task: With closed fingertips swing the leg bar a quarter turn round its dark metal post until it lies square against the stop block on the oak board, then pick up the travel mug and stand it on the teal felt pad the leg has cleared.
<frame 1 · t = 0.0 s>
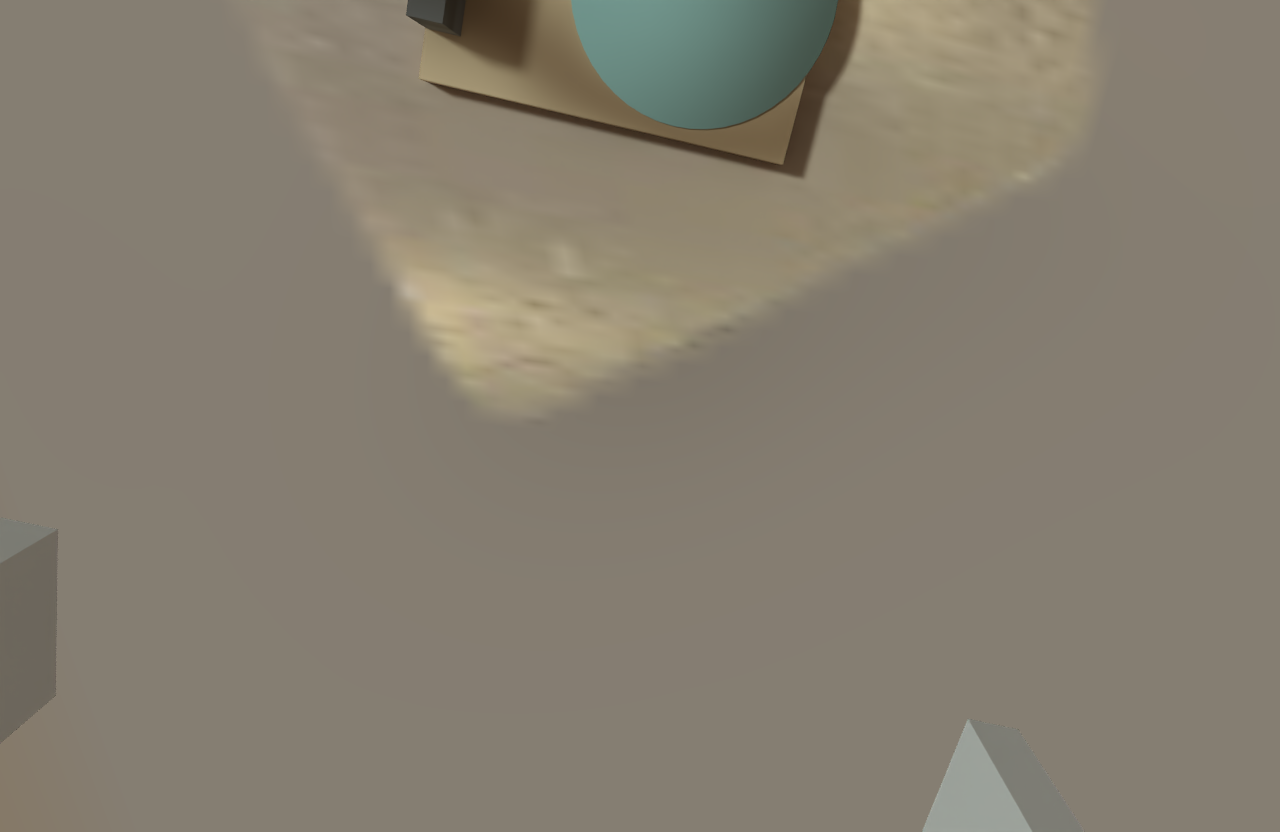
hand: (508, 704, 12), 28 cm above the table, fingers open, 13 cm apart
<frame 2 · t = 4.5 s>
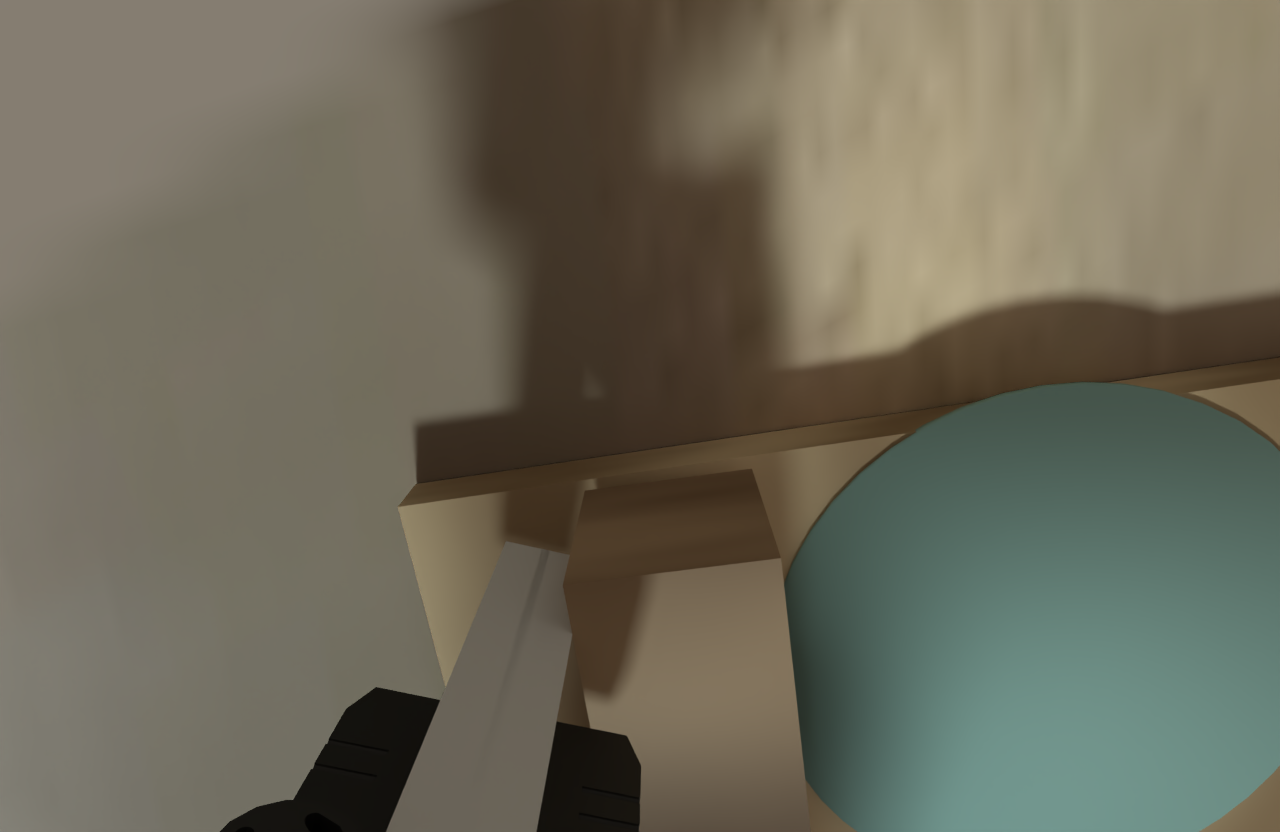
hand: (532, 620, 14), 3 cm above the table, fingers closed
felt pad: (1023, 622, 17), resting on oak board
leg bar: (710, 799, 14), point 4 cm above the table, hinge at 89.2°, touching gripper
oak board: (890, 757, 18), on the table
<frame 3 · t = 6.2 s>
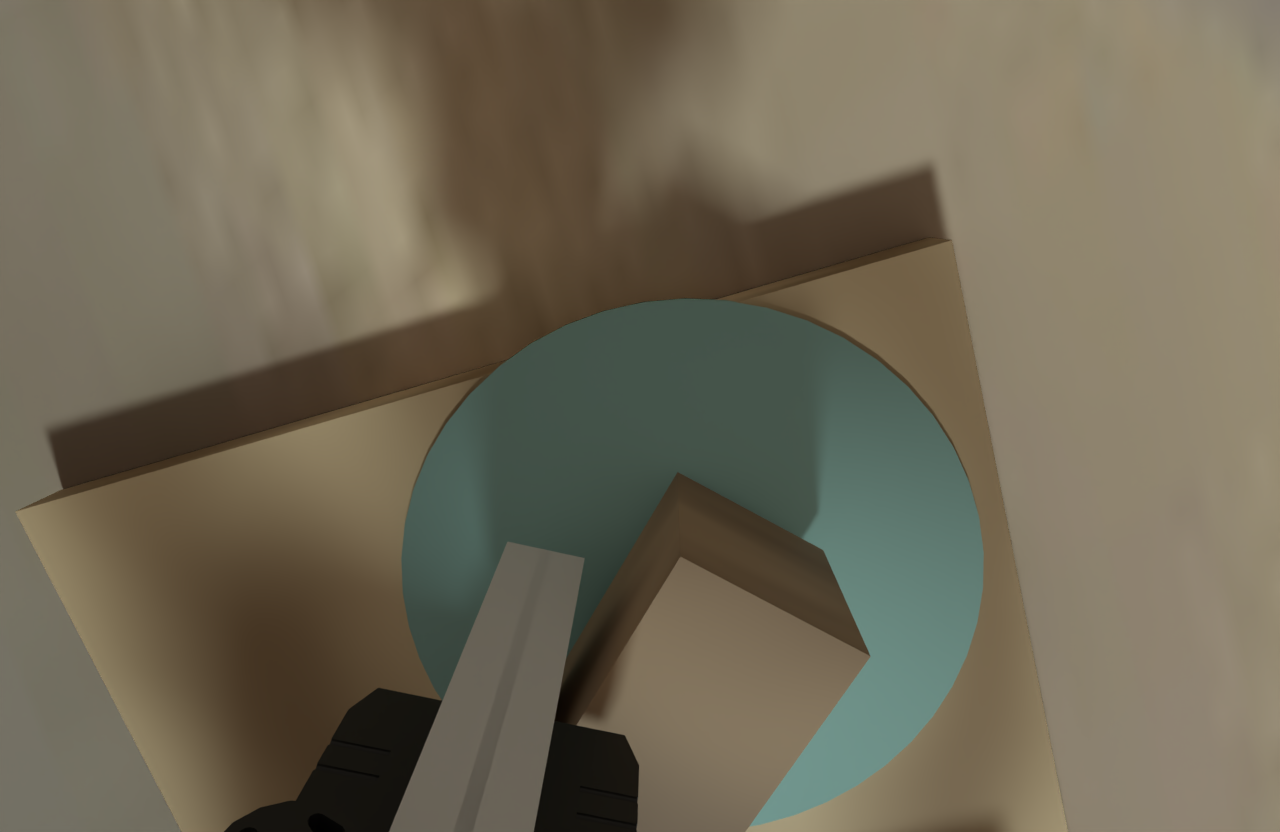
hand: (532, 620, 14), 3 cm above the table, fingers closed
felt pad: (687, 560, 17), resting on oak board
leg bar: (607, 803, 14), point 4 cm above the table, hinge at 44.6°, touching gripper
oak board: (591, 716, 18), on the table
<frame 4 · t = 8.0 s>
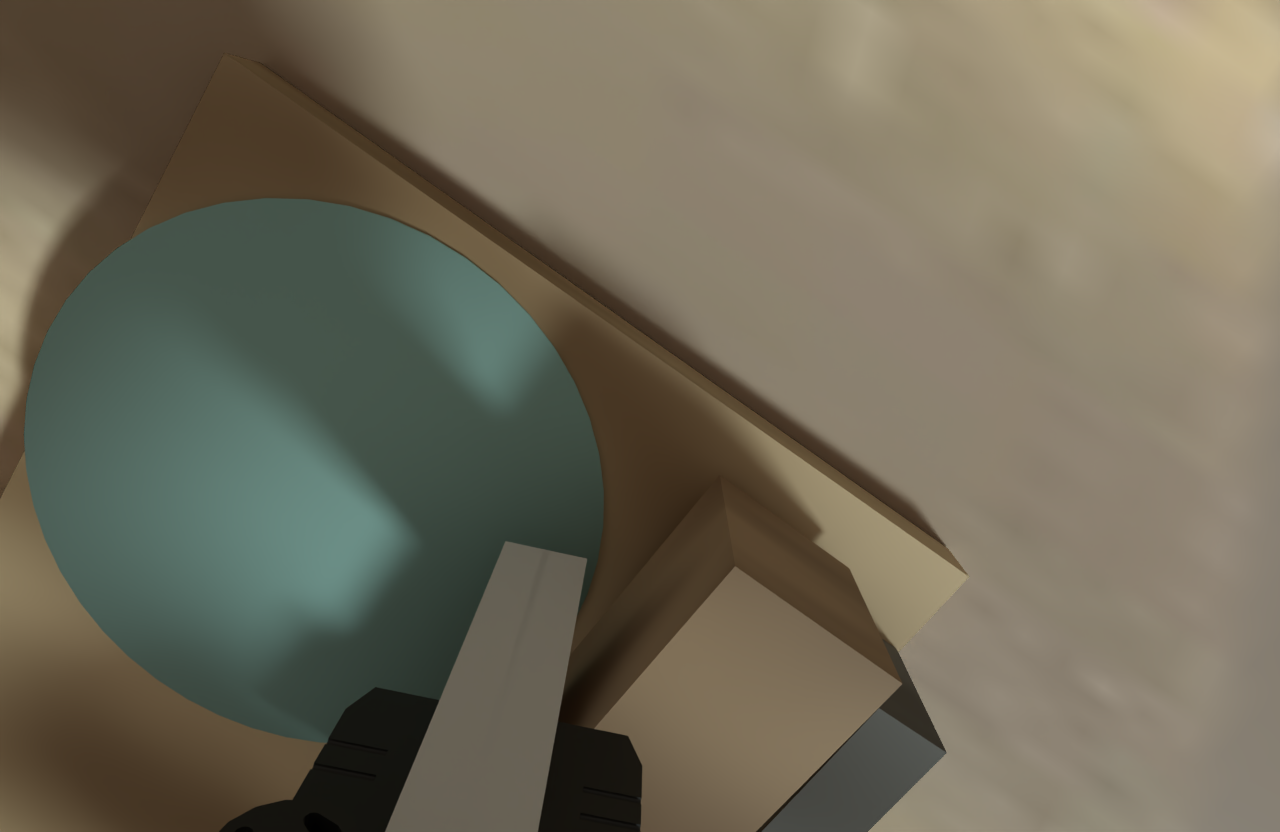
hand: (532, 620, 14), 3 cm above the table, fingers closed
felt pad: (340, 474, 16), resting on oak board
leg bar: (611, 789, 14), point 4 cm above the table, hinge at -1.3°, touching gripper
oak board: (393, 654, 18), on the table
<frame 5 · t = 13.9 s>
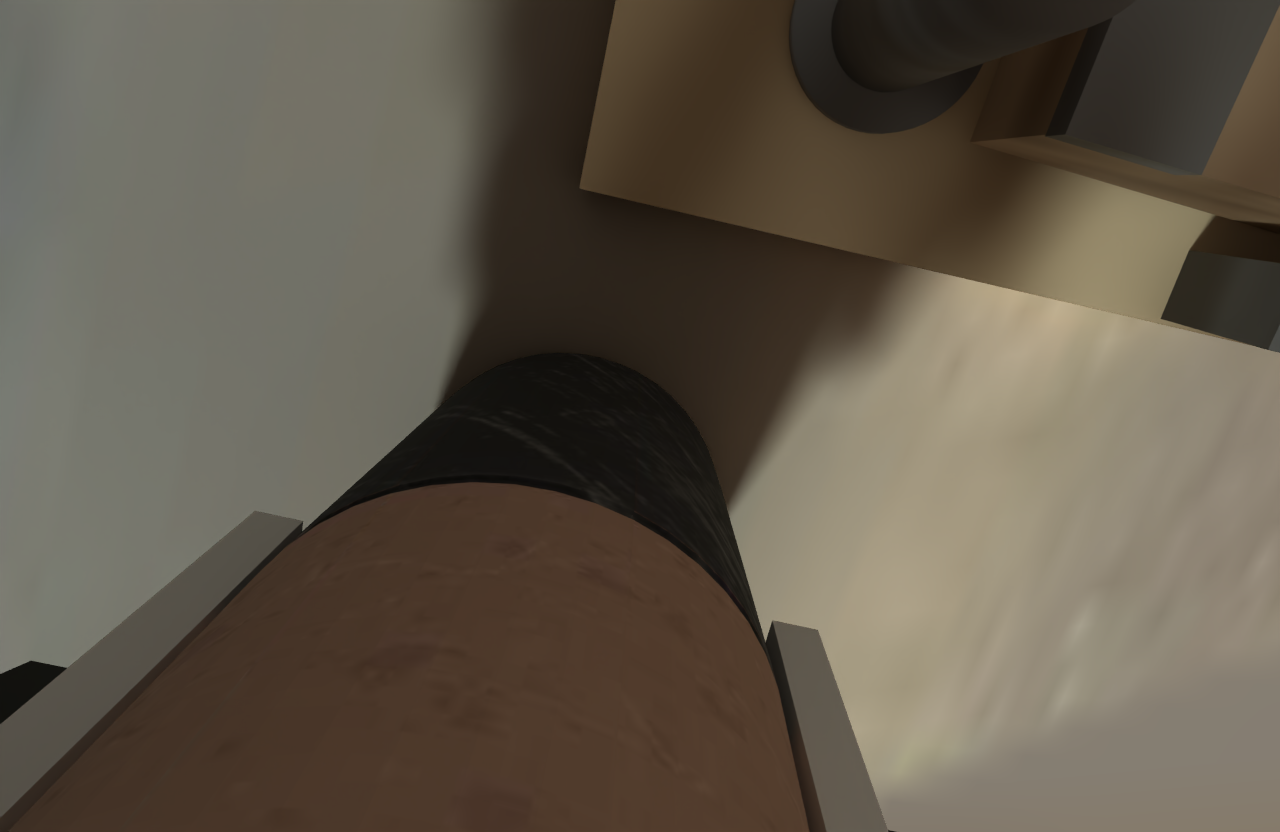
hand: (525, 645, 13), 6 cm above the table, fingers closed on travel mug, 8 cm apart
travel mug: (567, 494, 19), on the table, touching gripper
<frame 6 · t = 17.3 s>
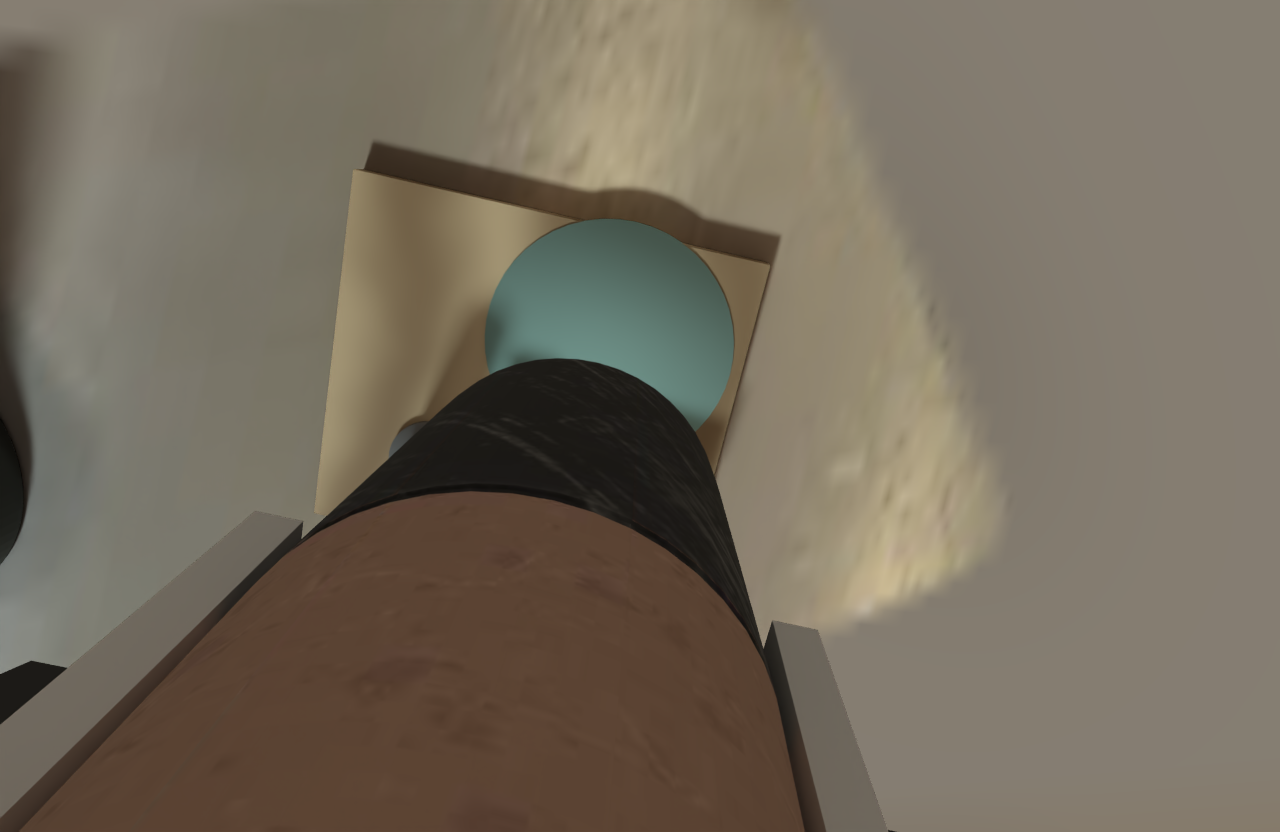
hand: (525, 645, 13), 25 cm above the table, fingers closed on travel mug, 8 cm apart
travel mug: (566, 499, 19), point 18 cm above the table, touching gripper
felt pad: (610, 341, 37), resting on oak board
oak board: (534, 388, 37), on the table
when the fingers open (9 cm above the table, at t = 20.6 s): travel mug drops 1 cm, resting on felt pad.
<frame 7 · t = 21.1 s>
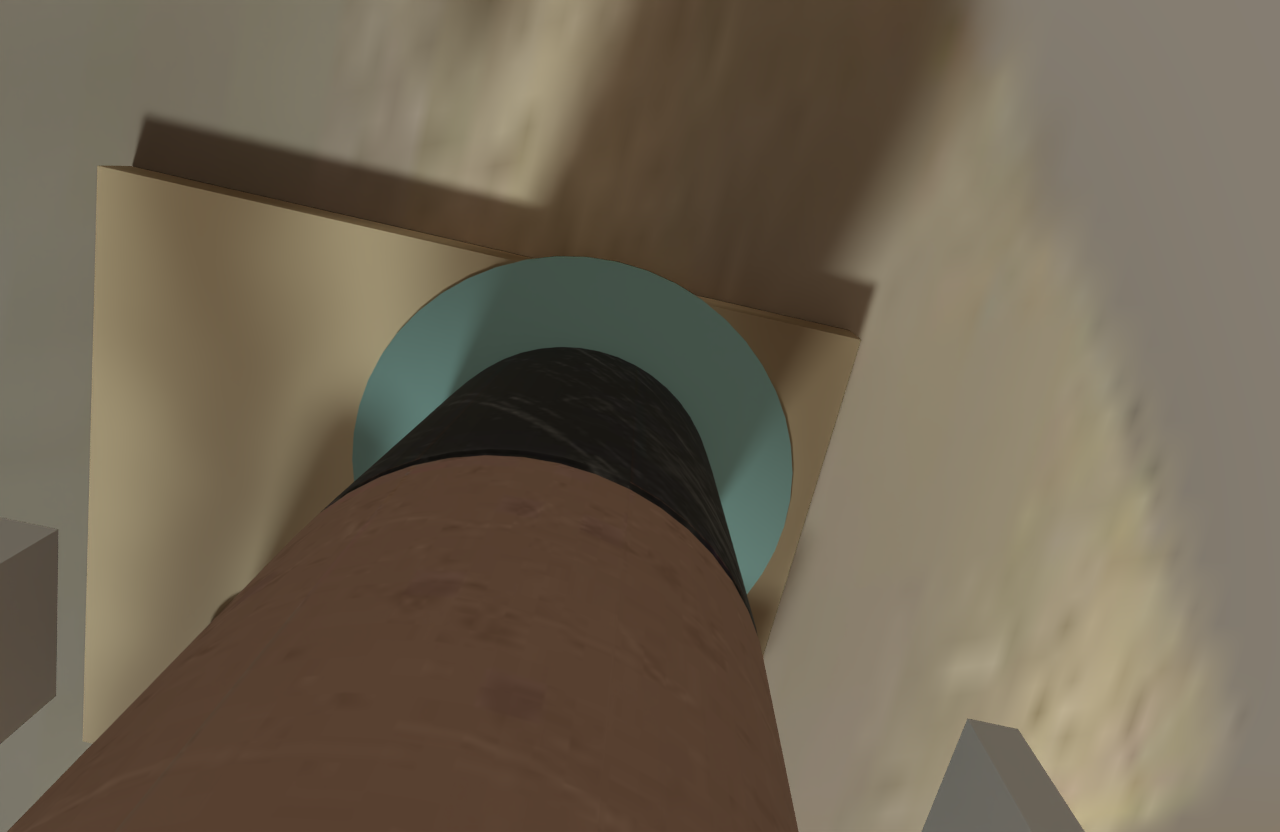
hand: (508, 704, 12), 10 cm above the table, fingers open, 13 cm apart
travel mug: (568, 481, 20), point 1 cm above the table, touching felt pad
felt pad: (576, 462, 21), resting on oak board
oak board: (448, 538, 22), on the table
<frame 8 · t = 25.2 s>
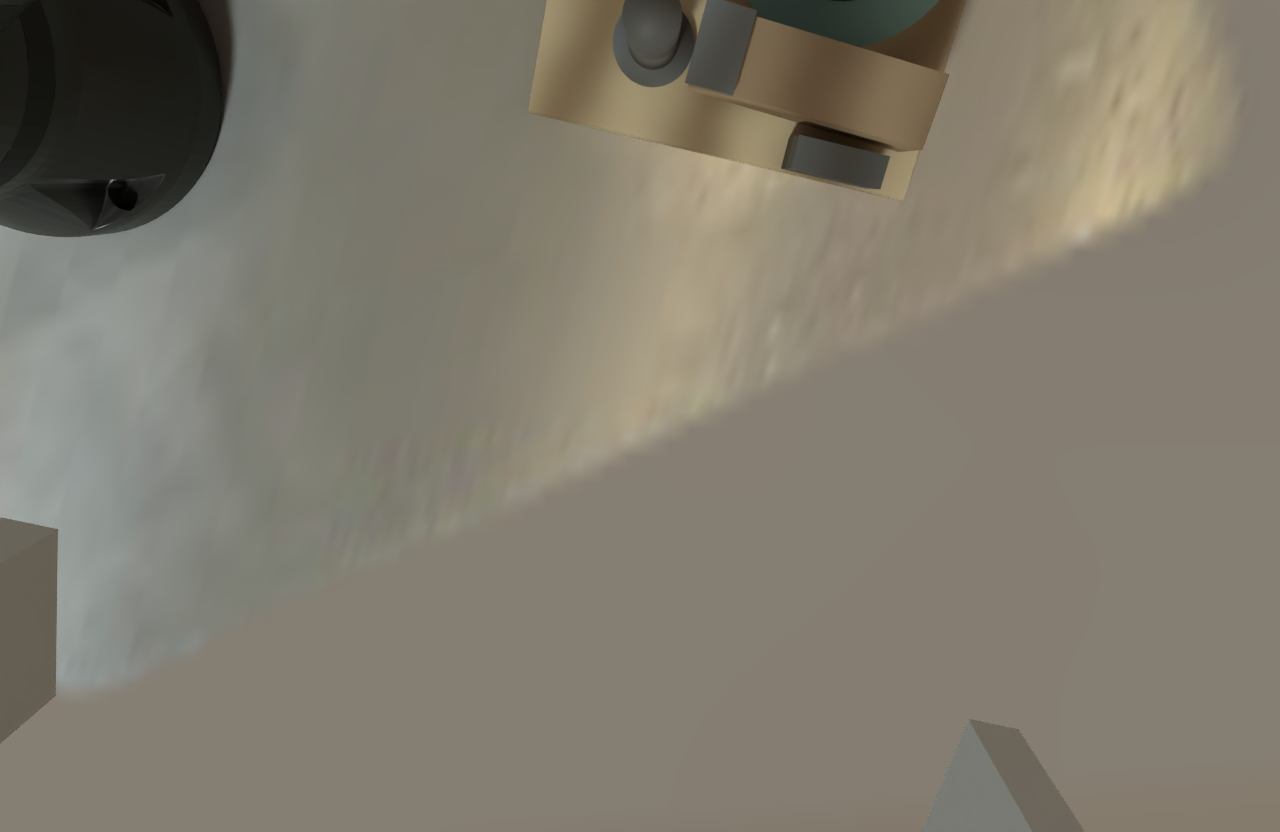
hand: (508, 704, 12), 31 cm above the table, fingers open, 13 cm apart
leg bar: (810, 81, 34), point 4 cm above the table, hinge at -2.7°
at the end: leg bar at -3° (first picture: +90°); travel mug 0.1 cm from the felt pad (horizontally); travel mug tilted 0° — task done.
